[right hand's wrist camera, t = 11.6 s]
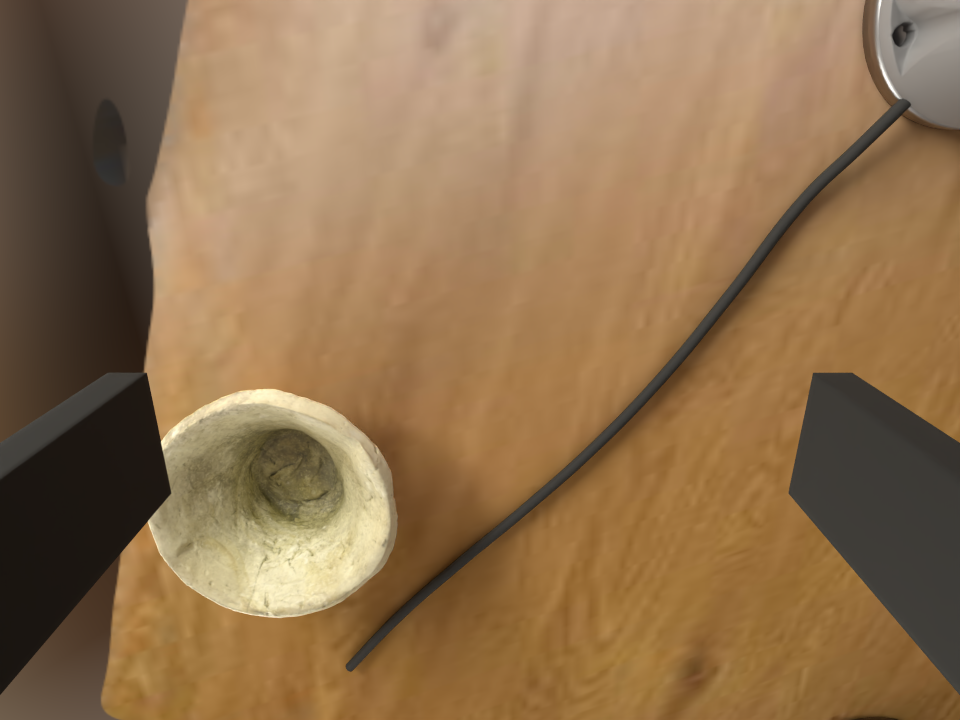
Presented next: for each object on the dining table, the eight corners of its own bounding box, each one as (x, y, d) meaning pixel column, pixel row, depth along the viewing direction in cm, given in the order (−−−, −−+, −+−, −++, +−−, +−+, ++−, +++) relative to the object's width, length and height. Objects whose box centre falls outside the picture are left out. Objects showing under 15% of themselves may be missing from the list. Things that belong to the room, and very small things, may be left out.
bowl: (287, 506, 57) (111, 520, 47) (370, 355, 50) (187, 333, 40) (345, 639, 49) (148, 691, 39) (454, 480, 42) (250, 492, 32)
